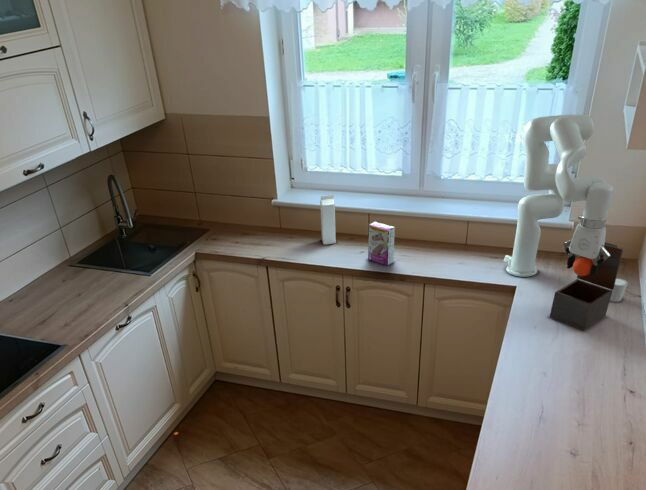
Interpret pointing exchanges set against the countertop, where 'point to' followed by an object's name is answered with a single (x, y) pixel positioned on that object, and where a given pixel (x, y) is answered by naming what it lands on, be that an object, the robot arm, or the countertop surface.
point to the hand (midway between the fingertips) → (581, 270)
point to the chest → (580, 304)
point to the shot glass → (618, 290)
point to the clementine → (582, 266)
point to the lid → (606, 268)
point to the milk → (328, 219)
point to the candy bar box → (381, 243)
